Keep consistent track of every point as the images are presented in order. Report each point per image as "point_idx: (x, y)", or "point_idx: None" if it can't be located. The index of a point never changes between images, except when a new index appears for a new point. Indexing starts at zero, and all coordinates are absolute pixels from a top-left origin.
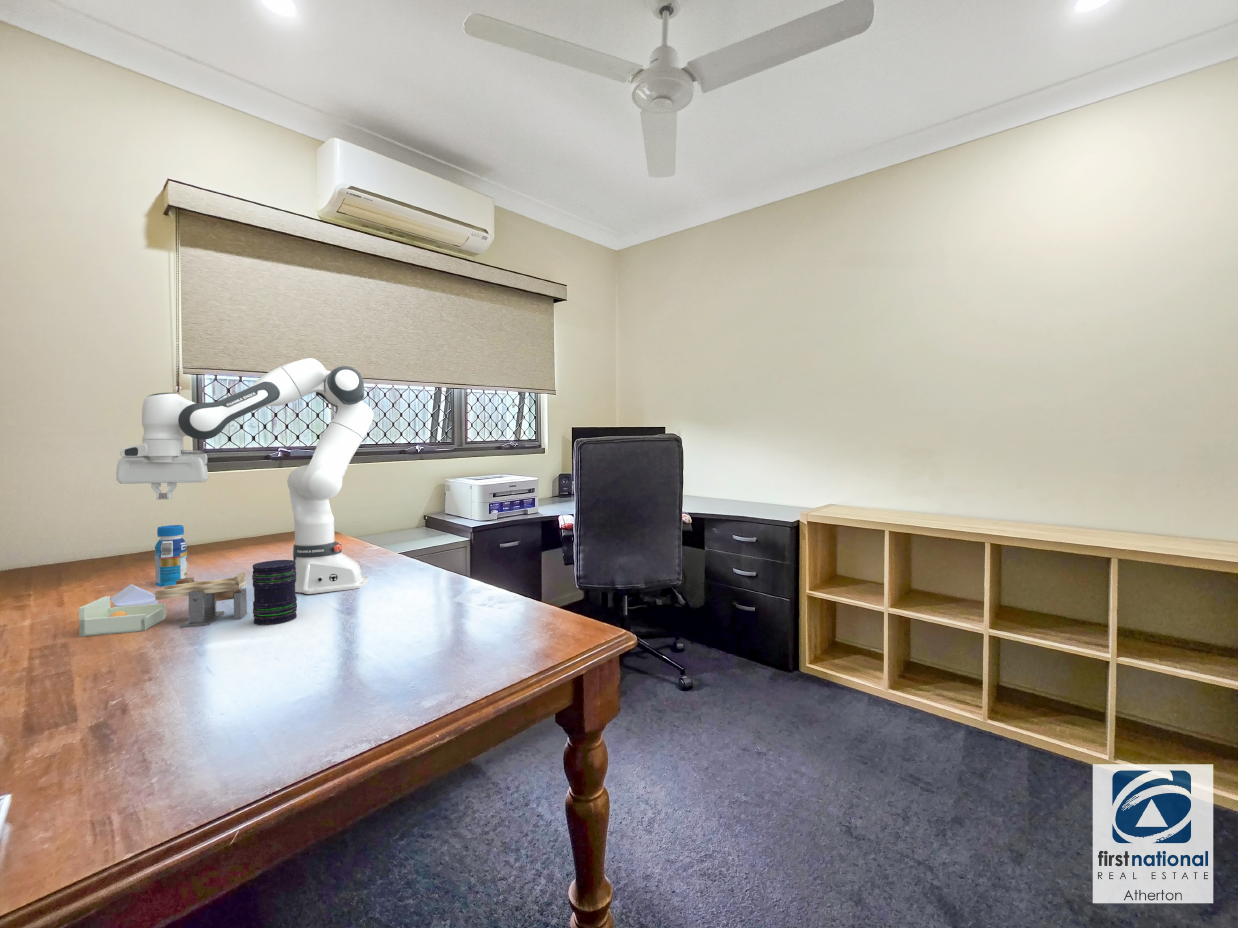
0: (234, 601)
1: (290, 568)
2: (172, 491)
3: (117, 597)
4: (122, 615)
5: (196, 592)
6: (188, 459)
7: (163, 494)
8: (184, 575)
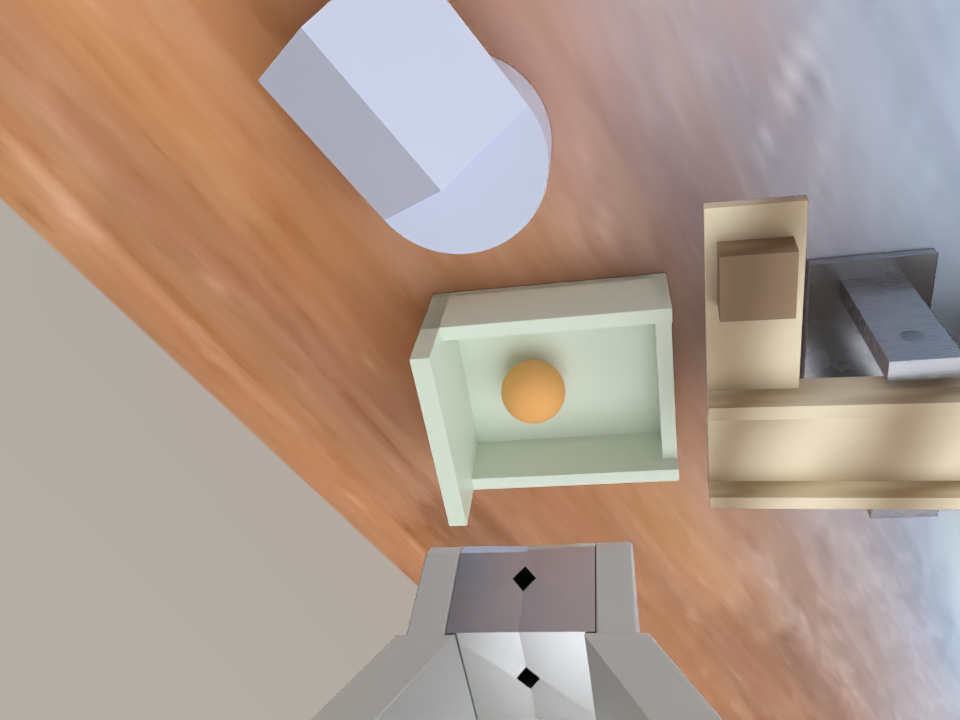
0: None
1: None
2: (665, 672)
3: (330, 137)
4: (556, 413)
5: (907, 513)
6: None
7: (548, 693)
8: None
